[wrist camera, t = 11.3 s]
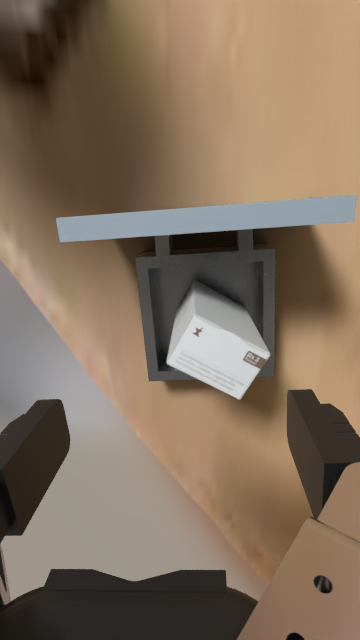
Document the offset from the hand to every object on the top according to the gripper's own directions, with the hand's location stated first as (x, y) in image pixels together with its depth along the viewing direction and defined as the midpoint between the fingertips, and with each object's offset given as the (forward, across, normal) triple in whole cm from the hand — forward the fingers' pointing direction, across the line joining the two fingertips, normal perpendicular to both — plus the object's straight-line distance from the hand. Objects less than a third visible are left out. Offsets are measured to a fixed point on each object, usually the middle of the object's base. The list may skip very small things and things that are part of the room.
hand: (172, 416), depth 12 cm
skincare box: (+23, -2, +3) cm, 23 cm away
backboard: (+23, -1, -6) cm, 24 cm away
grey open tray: (+23, -1, +2) cm, 23 cm away
